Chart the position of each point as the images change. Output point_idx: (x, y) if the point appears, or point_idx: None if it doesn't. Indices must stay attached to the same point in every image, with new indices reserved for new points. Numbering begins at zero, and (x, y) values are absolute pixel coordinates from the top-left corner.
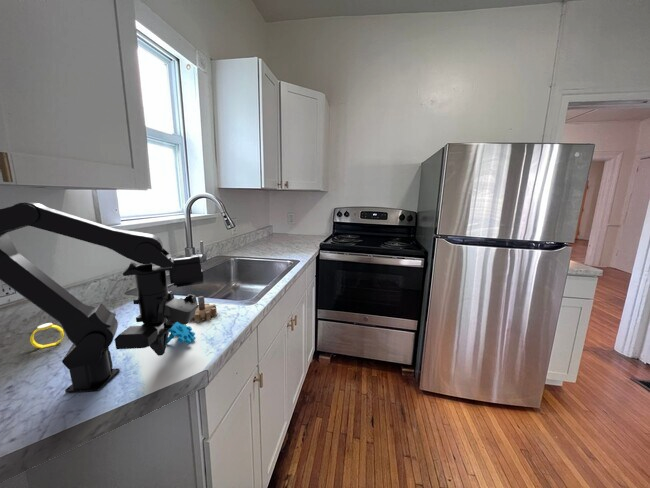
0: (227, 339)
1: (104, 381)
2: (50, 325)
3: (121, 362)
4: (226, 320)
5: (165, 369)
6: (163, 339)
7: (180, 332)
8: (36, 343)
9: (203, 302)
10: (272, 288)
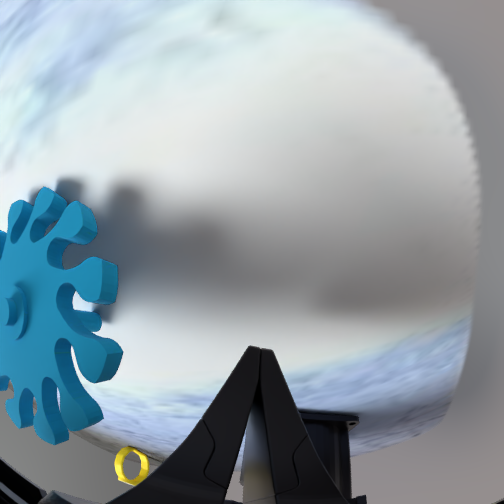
0: None
1: (329, 422)
2: (126, 482)
3: None
4: None
5: (342, 287)
6: (280, 462)
7: (41, 301)
8: (143, 463)
9: None
10: None
